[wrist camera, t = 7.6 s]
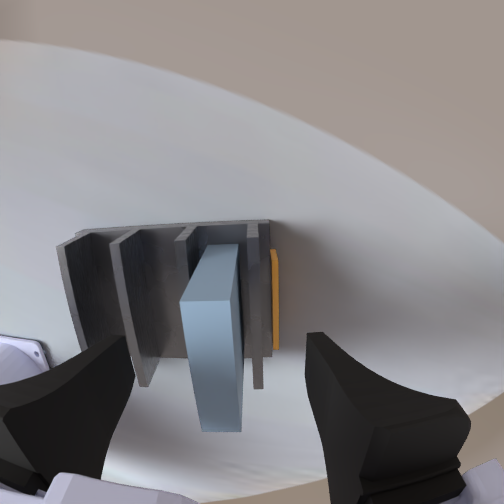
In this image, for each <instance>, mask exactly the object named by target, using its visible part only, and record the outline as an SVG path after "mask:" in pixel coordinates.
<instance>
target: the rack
mask: <svg viewBox="0 0 504 504" xmlns="http://www.w3.org/2000/svg"><path fill="white" fill-rule="evenodd" d="M75 236H76V237H74V238H72V239H70V240H68V241H66V242H64V243H63V244H61V245H59V246H57V247H56V249H57V254H58V260H59V265H60V270H61V275H62V280H63V284H64V289H65V293H66V297H67V301H68V305H69V309H70V313H71V317H72V321H73V324H74V328H75V331H76V335H77V338H78V342H79V345H80V348H81V351H82V352H83V351H85V350H86V349H88V348H89V347H91V346H93V345H94V344H96V343H98V342H99V341H101V340H103V339H105V338H106V337H108V336H111V335H125V337H126V341H127V345H128V349H129V353H130V356H132V360H133V364H134V367H135V371H136V375H137V378H138V382H139V385H140V387H148V386H149V384H150V382H151V379H152V377H153V375H154V372H155V370H156V367H157V365H158V363H159V360H160V358H161V357H164V358H188V355H187V348H186V342H185V336H184V330H183V323H182V316H181V309H180V299H181V297H182V295H183V293H184V291H185V289H186V287H187V285H188V283H189V281H190V279H191V277H192V275H193V273H194V271H195V269H196V267H197V265H198V263H199V261H200V259H201V257H202V255H203V253H204V251H205V249H206V247H207V246H208V245H218V244H239V258H240V276H241V293H242V310H243V327H244V343H245V347H244V358H252V364H253V385H254V389H263V357H272V342H273V350H279V276H278V257H277V253H276V249H270V223H269V220H242V221H219V222H198V223H178V224H161V225H144V226H128V227H114V228H100V229H86V230H81V231H79V232H77V233H75Z"/></svg>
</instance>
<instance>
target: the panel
mask: <svg viewBox="0 0 504 504" xmlns="http://www.w3.org/2000/svg"><path fill="white" fill-rule="evenodd" d="M180 309H181V316H182V323H183V330H184V336H185V342H186V348H187V355H188V360H189V366H190V372H191V377H192V383H193V388H194V394H195V399H196V404H197V409H198V414H199V419H200V423H201V428H202V432H241V426H242V399H243V373H244V347H245V343H244V327H243V310H242V293H241V276H240V258H239V244H218V245H208V246H207V247H206V249H205V251H204V253H203V255H202V257H201V259H200V261H199V263H198V265H197V267H196V269H195V271H194V273H193V275H192V277H191V279H190V281H189V283H188V285H187V287H186V289H185V291H184V293H183V295H182V297H181V299H180Z"/></svg>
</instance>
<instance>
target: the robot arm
mask: <svg viewBox="0 0 504 504" xmlns="http://www.w3.org/2000/svg"><path fill="white" fill-rule="evenodd" d="M37 352H38V353H39V354H38V353H37ZM134 379H135V372H134V369H133V365H132V361H131V357H130V353H129V349H128V345H127V341H126V337H125V335H111V336H108V337H106V338H105V339H103V340H101V341H99V342H98V343H96V344H94V345H93V346H91V347H89V348H88V349H86V350H85V351H83V352H81V353H80V354H78V355H76V356H75V357H73V358H71V359H69V360H67V361H66V362H64V363H62V364H60V365H58V366H56V367H54V368H52V369H49V366H48V363H47V361H46V358H45V355H44V352H43V350H42V347H41V345H40V344H39V343H38V342H37V341H33V340H26V339H19V338H12V337H6V336H0V504H200V503H198V502H196V501H194V500H192V499H189V498H187V497H185V496H183V495H180V494H175V493H170V492H166V491H162V490H155V489H148V488H141V487H135V486H129V485H124V484H118V483H113V482H108V481H104V480H101V475H102V470H103V466H104V461H105V457H106V454H107V450H108V447H109V443H110V440H111V438H112V435H113V432H114V430H115V428H116V426H117V424H118V421H119V419H120V417H121V415H122V412H123V410H124V408H125V406H126V403H127V401H128V399H129V397H130V394H131V390H132V387H133V383H134ZM305 380H306V387H307V393H308V398H309V401H310V405H311V408H312V411H313V415H314V418H315V421H316V425H317V428H318V431H319V434H320V438H321V442H322V446H323V451H324V457H325V464H326V470H327V477H328V484H329V493H330V501H331V504H504V470H503V468H502V467H501V465H500V464H499V462H498V461H497V459H496V458H495V459H492V460H489V461H487V462H485V463H483V464H481V465H478V466H476V467H474V468H472V469H470V470H468V471H467V472H465V473H464V474H463V475H462V476H461V475H460V472H459V471H458V468H459V467H460V466H461V463H460V461H459V459H458V458H457V455H458V453H459V451H460V449H461V448H462V446H463V444H464V442H465V440H466V439H467V436H468V434H469V431H470V428H471V421H470V419H469V417H468V415H467V414H466V413H465V411H464V410H463V408H462V407H461V406H460V404H459V403H458V402H457V401H456V400H455V399H449V398H444V397H438V396H433V395H429V394H425V393H422V392H418V391H415V390H412V389H409V388H406V387H404V386H401V385H399V384H396V383H394V382H392V381H390V380H388V379H386V378H384V377H382V376H380V375H378V374H376V373H375V372H373V371H371V370H370V369H368V368H366V367H365V366H363V365H362V364H361V363H359V362H358V361H356V360H355V359H354V358H352V357H351V356H350V355H348V354H347V353H346V352H345V351H344V350H342V349H341V348H340V347H339V346H338V345H337V344H335V343H334V342H333V341H332V340H331V339H330V338H329V337H328V336H327V335H325V334H324V333H323V332H315V333H307V342H306V361H305Z"/></svg>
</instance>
